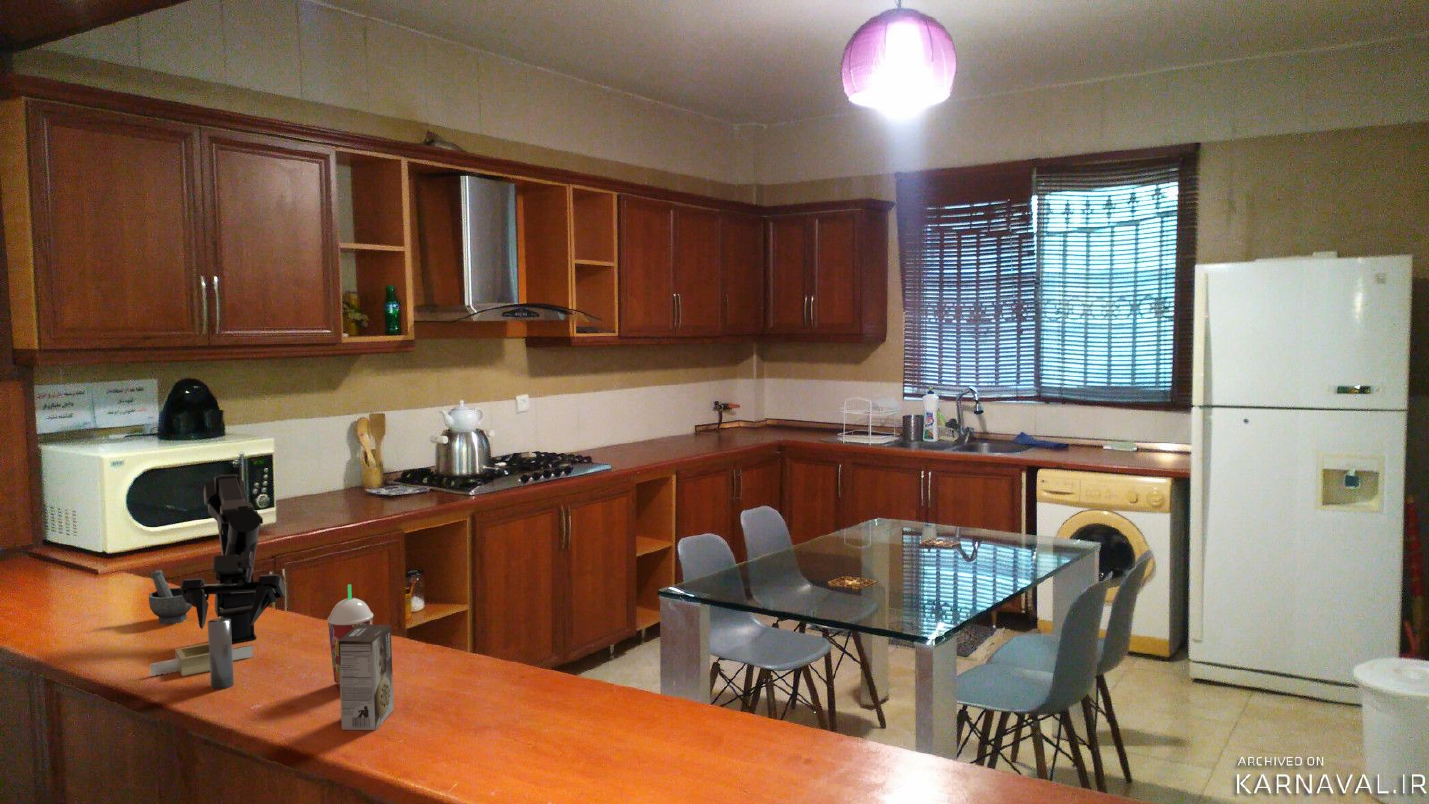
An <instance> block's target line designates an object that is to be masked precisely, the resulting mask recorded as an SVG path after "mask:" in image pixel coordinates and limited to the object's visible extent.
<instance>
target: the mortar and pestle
mask: <svg viewBox="0 0 1429 804" xmlns="http://www.w3.org/2000/svg"><path fill="white" fill-rule="evenodd" d="M163 574H164V572H163V570H162V569H157V570H154V571H152V572H151V573H150V574H149V576H150V578H151V579H152V581H153V585H154V587H155V591H154V592H151V593H149V594H148V604H149V608H150V610H151V611H152V614H154V615H155V616H157V617H158V625H162V626H169V625H176V623H177V624H180V623H181V622H182V623H184V622H185V621H184V620H186V619H187V620H188V617H187V616H188V615H187V613H188V612H189V611H190V610H191V608H192V607H193V606H192V604H189V603H186V601H185V599H184V598H183V596H182V594H181V592H180V587H170V586H169V585H168V583H167V581H166V579H165V577H164V575H163ZM187 620H186V621H187ZM183 621H184V622H183ZM182 623H181V624H182Z"/></svg>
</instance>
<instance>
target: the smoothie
mask: <svg viewBox="0 0 1429 804" xmlns="http://www.w3.org/2000/svg"><path fill="white" fill-rule="evenodd" d="M373 619H374V613H373V612H372V611H371V609H370V607H369V606H368V604H367V603H366V602H365V601H364V600H361V599H359V598H356V597H352V584H347V598H345V599H342V600H340V601H338V603H336V604H335V606H334V607H333V608H332V610H331V612H330V615H329V616H328V617H327V623H328V624H327V625H328V633H329V634H328V635H329V636H328V637H329V643H330V652H331V662H332V671H333V681H334V682H335V684H336V685H337V688H339V689H340V670H339V644H338V641H339V640H340V639H341V638H342V637H344V636H345V635H346V634H347V633H348V632H350V631H351V630H352V629H353V628H354V627H356V626H357V625H374V620H373Z"/></svg>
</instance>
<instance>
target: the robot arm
mask: <svg viewBox="0 0 1429 804" xmlns="http://www.w3.org/2000/svg"><path fill="white" fill-rule="evenodd" d="M245 486H246V485H245V481H244V480H242V479H241V478H240V475H239V474H236V473H235V474H223V475H222V474H221V475H217V476H214V479H213V480H212V481H210V482H208V483H206V484H204V488H203V503H204V505H205V506H206V505H207V511H208V515H210V516H211V517H212V518H213V519H214V520H215V521H216V522H217V529H218V536H219V537H218V538H219V545H220V546H219V547H220V553H221V554H220V555H214V556H213V564H212V565H213V566H212V573H215V579H216V581H218V583H210V584H207V581H206V580H205V579H204V577H197V578H196V577H194V578H185V579H184V580H182V582H180V586H179V588H180V592H181V594H182V596H183V598H184V599H185V601H186V603H189V604H192V607H195V609H196V613H197V618H198V619H197V620H198V625H199V628H200V629H201V630H203V629H204V628H205V625H206V620H207V615H208V610H209V602H208V601H209V598H210V595H215V596H214V610H215V611H214V612H215V614H216V617H217V618H230V619H231V636H232V644H237V643H240V642H245V641H246V642H247V641H253V640H256V639H257V636H256V634H255V623H256V622H257V620H258V619H259V618H260V617H261V615H262V614H263V613H264V611H265V610H266V609H267V608H268V607H269V606H270V605H271V604H272V603H276V602H277V601H278V600H280V599H281V600H282V599H283V598H285V591H286V588H285V584H284V582H283V578H282V576H281V575H280V574H279V573H271V574H269V573H268V574H260V575H259V576H258V581H255V580H254V571H255V569H254V563H255V558H256V554H257V553H256V552H257V548H258V542H259V541H258V539H259V532H260V527H261V525H262V524H264V518H263V517H262V516H261V515H260V513H259V512H258V510H255V508H254V506H253V504H252V503H251V502H249V501H246V500H245V499H246V488H245Z"/></svg>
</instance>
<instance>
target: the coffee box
mask: <svg viewBox="0 0 1429 804" xmlns="http://www.w3.org/2000/svg"><path fill="white" fill-rule="evenodd" d="M391 627H392V626H391V625H387V624H385V625H379V624H373V625H357V626H356V627H354V628H353V629H352V630H351V631H350V632H348V633H347V634H346V635H345V636H344V637H342V638H341V639H340V640H339V641H338V644H339V670H340V688H339V692H340V711H341V712H340V715H341V718H340V719H341V730H343V731H345V730H347V731H377V730H378V728H379V727H380V726H381V725H382V724H383V723H384V721H385V720H387V718H388V717H389V716H390V714H392V712H393V711H394V710H395V704H394V703H395V702H394V699H395V698H394V697H395V696H394V679H393V677H394V675H393V656H392V654H393V653H392V652H393V651H392V631H391Z"/></svg>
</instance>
